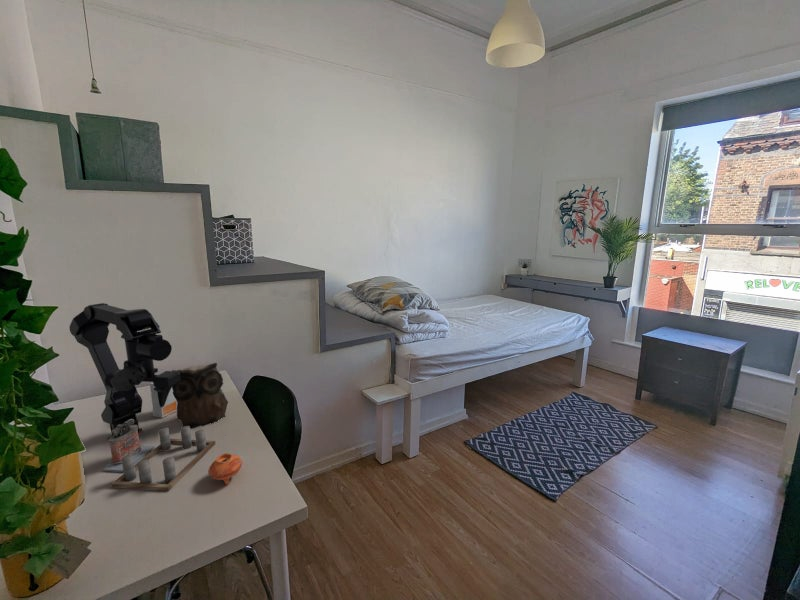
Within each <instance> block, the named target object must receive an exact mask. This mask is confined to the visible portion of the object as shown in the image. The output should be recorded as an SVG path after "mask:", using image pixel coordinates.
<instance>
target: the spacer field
mask: <svg viewBox="0 0 800 600" xmlns="http://www.w3.org/2000/svg"><path fill="white" fill-rule="evenodd" d="M205 433H206V432H205V429H198V430H196V431H195V434H194V435H195V436H194V437H195V439H192V435H191V434H192V433H191V428H190V426H184V427H182V426H181V428H180V438H170V429H169V427H163V428H160V429H159V430H158V435H159V443H160V444H159V445H157V446H155V448H154V449H153V450H152V451H151V452H149V453H148V454H147V455H146V456H144V457H143V458H142V459H141V460H139V461H138V462H137V463H136V464H134V458H133V455H127V456H124V457H123V458H122V465H123V471H124V472H123V474H122V475H120V476H118V478H116V479H115V480H114V481H113V482H112V483H111V484H110V485H111V488H118V489H119V488H120V489H135V490H146V491H147V490H148V491H163V492H169V491H170V490H172V489H173V488H174V487H175V485H176V484H178V482H179V481H180V480H181V479H182V478H184V477H185V476H186V474H188V472H189V471H190V470H191V469H192V468H193V467H194V466H195V465H196V464H197V463H198V462H200V461H201V460H202V458H203V457H204V456H206V454H207V453H208V452H209V451H211V449H212V448H213V447H214V446H216V440H206V439H207V438H206V434H205ZM172 444H173V445H174V444H175V445H181V446H182V449H184V450H188V449H190V448H192V447H193V446H196V451H197V453H198V454H197V455H196V456H195V457H194V458H193V459H191V460H190V461H189V462H188V464H186V466H184V467H183V468H182V469H181V470H180V472H178V473H176V465H175V458H174V457H173V456H168V457H166V458H164V459H163V460H162V467H163V476H164V481H165V483H153V480H152V473H151V465H150V464H151V463H150V460H151V459H152V458H153V457H154V456H155V455H157V454H158V453H159V452H160V451H161V452H167V451H169V450H170V449H171V448H172V447H171V445H172ZM149 459H150V460H149ZM137 472H138V478H139V482H134V480H135V479H136V478H137Z"/></svg>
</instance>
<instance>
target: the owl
mask: <svg viewBox="0 0 800 600" xmlns="http://www.w3.org/2000/svg"><path fill="white" fill-rule="evenodd" d="M217 366H218V363H217V362H212V363H207V364H206V363H205V364H199V365H193V366H188V367H185V368H181V369H177V370H176V369H172V370H171V371H177V372H179V373H180V377H181V380H180V381H178V382H177V383H175V384H174V385H173V386H172V389H173V395H174V397H175V399H176V400H177V411H176V418H177V420H179V421H180V422H181V424H182V425H181V428H182V427H184V426H190V430H191V429H196V428H199V427H205V426H207V425H213V424H215V423H218V422H219V421H220V420H222V419H224V418H226V412H227V406H228V404H229V401H228V399H227V397H226V396H225V393H224V392H223V390H222V386H223V385H224V379H223V376H222V374H221V373H220V371H219V369H218V368H217ZM223 417H224V418H223ZM221 418H222V419H221ZM218 420H219V421H218ZM214 422H215V423H214ZM210 423H211V424H210ZM212 423H213V424H212Z"/></svg>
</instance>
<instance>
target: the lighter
mask: <svg viewBox="0 0 800 600" xmlns="http://www.w3.org/2000/svg"><path fill="white" fill-rule="evenodd" d="M133 423H134V419H129V420H128V421H126V422H124V423H123V424H119V425H117V427H116V428H115V429H113V430H112V434H113V436H112V437H110V436H109V437H110V438H109V439H107V441H108V444H109V447H110V452H111V459H112V461H111V463H112V465H113V466H118V465H121V464H122V458H123V457H124V456H127V455H133V457H134V456H135V455H136V454H138V453H139V452H140V451H141V446H140V444H141V443H140V438H139V437H140V436H139V433H138V430H137V429H138V425H139V424H138V425H132V424H133ZM130 425H131V426H130ZM112 434H111V435H112Z"/></svg>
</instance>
